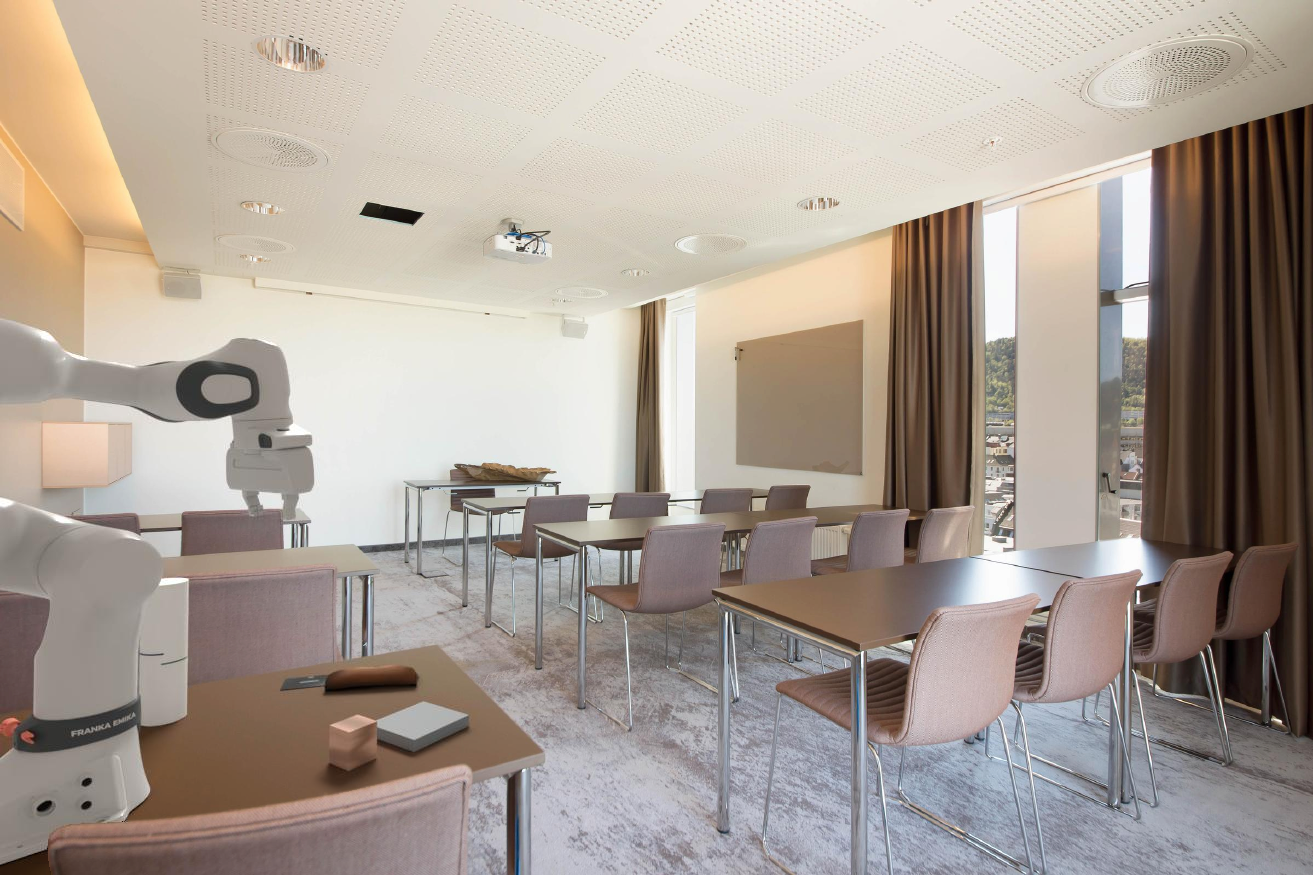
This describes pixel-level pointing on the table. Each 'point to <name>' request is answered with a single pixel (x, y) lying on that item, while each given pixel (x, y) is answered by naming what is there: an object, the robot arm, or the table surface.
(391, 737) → the slate base
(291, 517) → the robot arm
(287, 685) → the solid state drive
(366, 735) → the terracotta block
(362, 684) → the sunglasses case
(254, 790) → the table surface
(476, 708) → the table surface
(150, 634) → the cylindrical container
